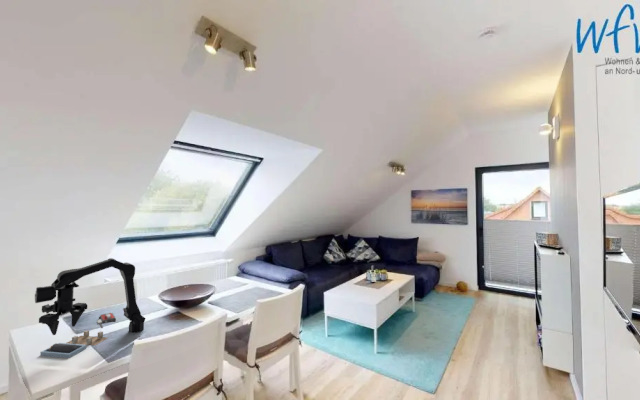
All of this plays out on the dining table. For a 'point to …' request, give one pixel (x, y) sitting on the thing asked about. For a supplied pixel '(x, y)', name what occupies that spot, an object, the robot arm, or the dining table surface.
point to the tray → (64, 355)
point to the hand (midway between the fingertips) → (64, 330)
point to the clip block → (87, 339)
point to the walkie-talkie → (106, 319)
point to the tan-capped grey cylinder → (63, 348)
